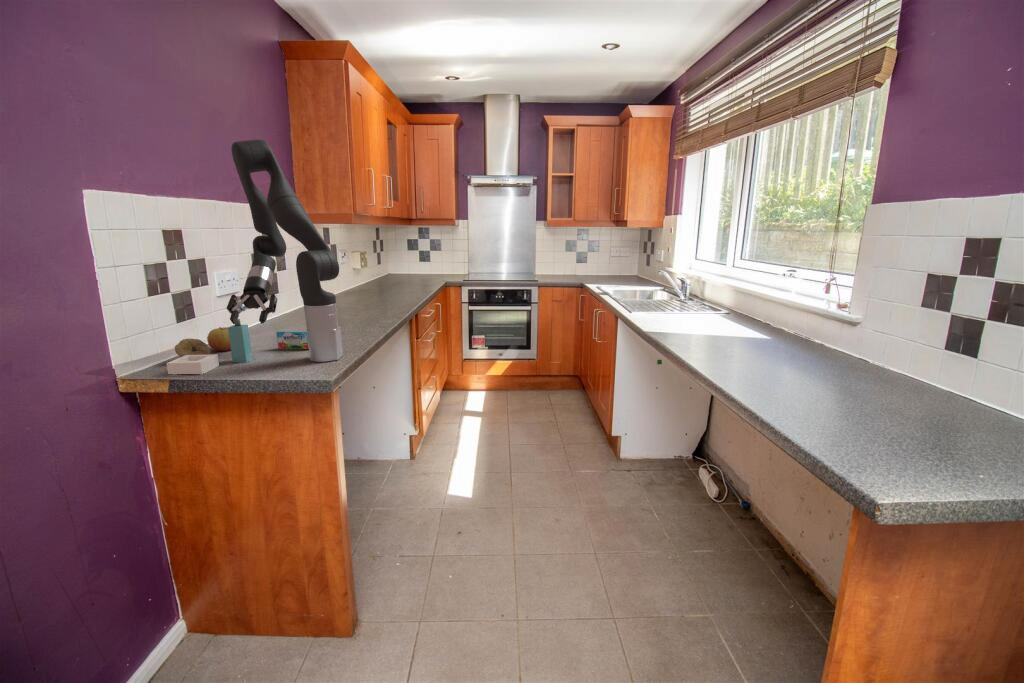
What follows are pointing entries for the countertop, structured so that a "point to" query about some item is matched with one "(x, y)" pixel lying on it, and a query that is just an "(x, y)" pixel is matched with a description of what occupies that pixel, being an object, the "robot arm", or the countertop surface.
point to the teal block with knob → (240, 342)
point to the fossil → (192, 347)
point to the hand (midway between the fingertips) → (247, 322)
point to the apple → (219, 339)
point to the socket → (193, 364)
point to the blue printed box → (292, 340)
